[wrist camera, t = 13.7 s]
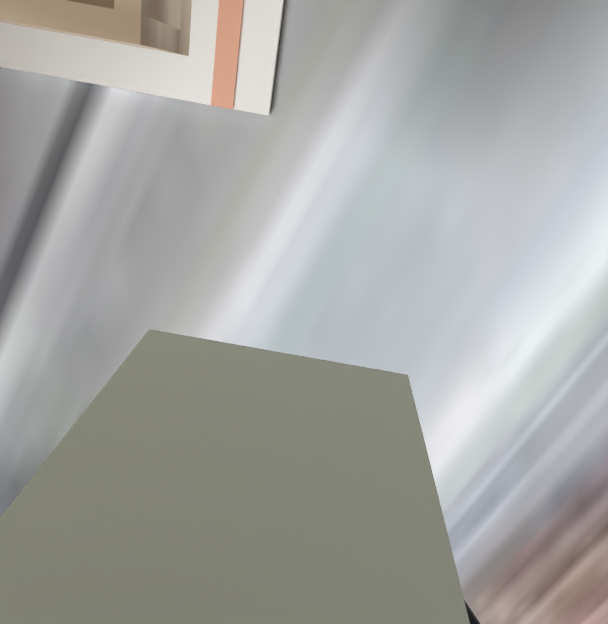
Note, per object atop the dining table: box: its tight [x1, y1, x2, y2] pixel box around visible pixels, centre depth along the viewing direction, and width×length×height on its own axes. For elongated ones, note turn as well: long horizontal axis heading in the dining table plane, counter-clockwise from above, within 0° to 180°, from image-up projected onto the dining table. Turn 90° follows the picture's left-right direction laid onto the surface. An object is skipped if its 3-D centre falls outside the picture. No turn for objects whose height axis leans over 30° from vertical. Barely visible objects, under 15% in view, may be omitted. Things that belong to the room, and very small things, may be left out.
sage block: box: [0, 329, 470, 624], centre depth 7 cm, size 5×5×7 cm
